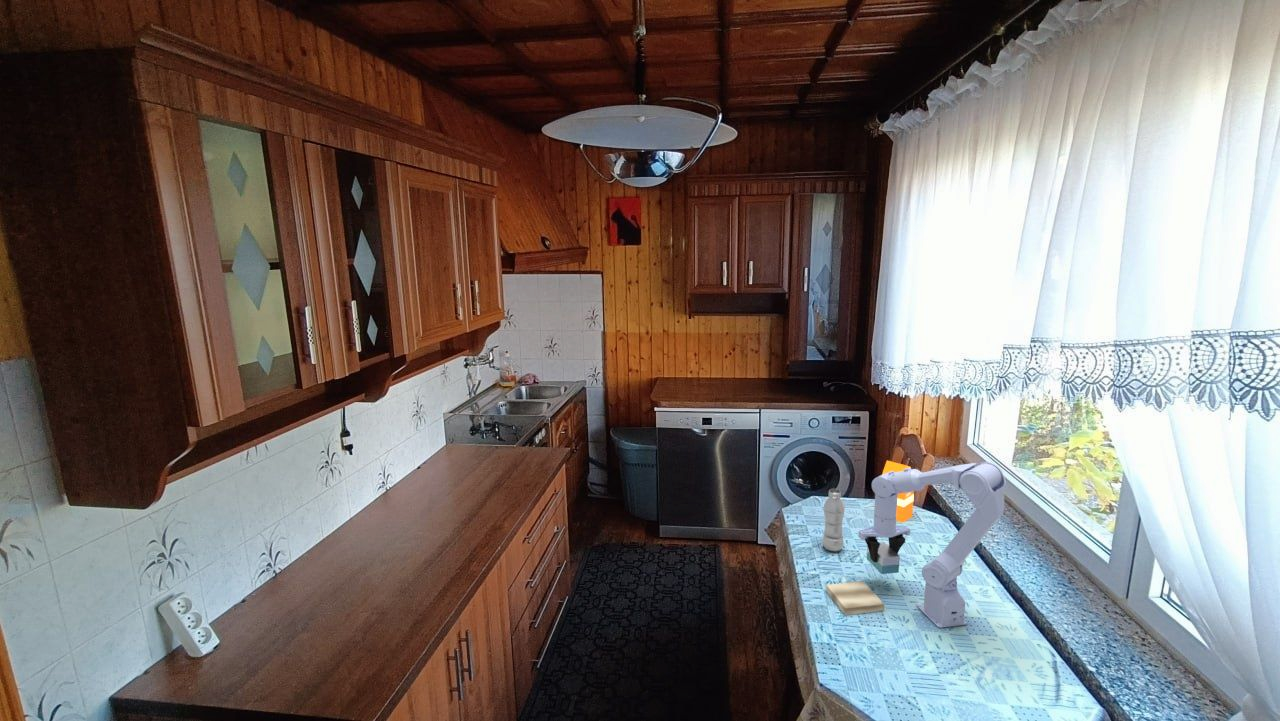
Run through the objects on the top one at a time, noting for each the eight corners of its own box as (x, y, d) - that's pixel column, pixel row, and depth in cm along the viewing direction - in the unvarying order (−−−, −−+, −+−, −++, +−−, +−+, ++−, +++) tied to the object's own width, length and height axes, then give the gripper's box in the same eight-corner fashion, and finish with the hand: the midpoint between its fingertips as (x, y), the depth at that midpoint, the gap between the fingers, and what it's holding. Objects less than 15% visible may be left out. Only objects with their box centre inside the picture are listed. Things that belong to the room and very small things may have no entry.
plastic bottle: (820, 551, 179) (822, 493, 176) (824, 542, 185) (826, 485, 182) (841, 556, 176) (843, 497, 173) (844, 546, 182) (846, 488, 179)
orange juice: (888, 508, 208) (891, 457, 204) (912, 516, 201) (916, 463, 198) (878, 514, 203) (881, 463, 199) (902, 523, 196) (906, 469, 193)
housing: (898, 572, 155) (899, 556, 154) (881, 574, 154) (882, 557, 154) (882, 557, 163) (883, 541, 162) (866, 559, 162) (867, 543, 161)
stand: (883, 610, 149) (884, 604, 148) (844, 615, 147) (845, 608, 147) (862, 587, 160) (862, 580, 159) (826, 591, 158) (826, 584, 158)
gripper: (901, 506, 160) (898, 550, 163) (853, 511, 159) (851, 554, 161) (916, 517, 154) (913, 562, 156) (866, 522, 152) (864, 567, 154)
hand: (882, 559), depth 158 cm, fingers closed on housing, 5 cm apart
